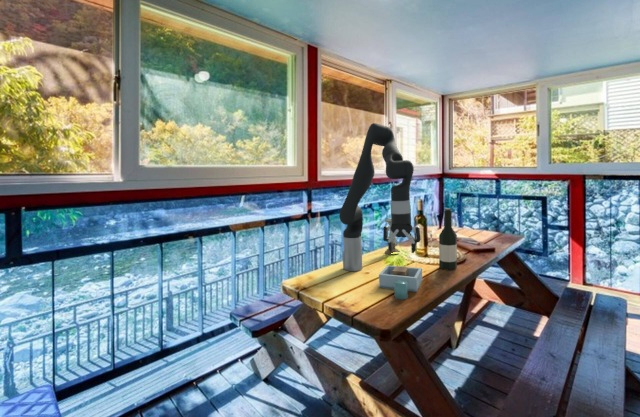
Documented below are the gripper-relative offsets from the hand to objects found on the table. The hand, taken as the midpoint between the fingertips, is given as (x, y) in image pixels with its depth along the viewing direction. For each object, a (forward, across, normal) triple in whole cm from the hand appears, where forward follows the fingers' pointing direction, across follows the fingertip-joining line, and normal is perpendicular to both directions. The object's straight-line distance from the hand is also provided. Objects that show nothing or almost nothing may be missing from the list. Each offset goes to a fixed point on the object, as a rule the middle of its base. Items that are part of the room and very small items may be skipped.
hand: (402, 251), depth 135 cm
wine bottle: (+19, +14, +43) cm, 49 cm away
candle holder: (+18, -19, +64) cm, 69 cm away
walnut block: (+18, -4, +14) cm, 23 cm away
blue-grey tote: (+18, -4, +14) cm, 23 cm away
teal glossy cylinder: (+19, -1, 0) cm, 19 cm away
